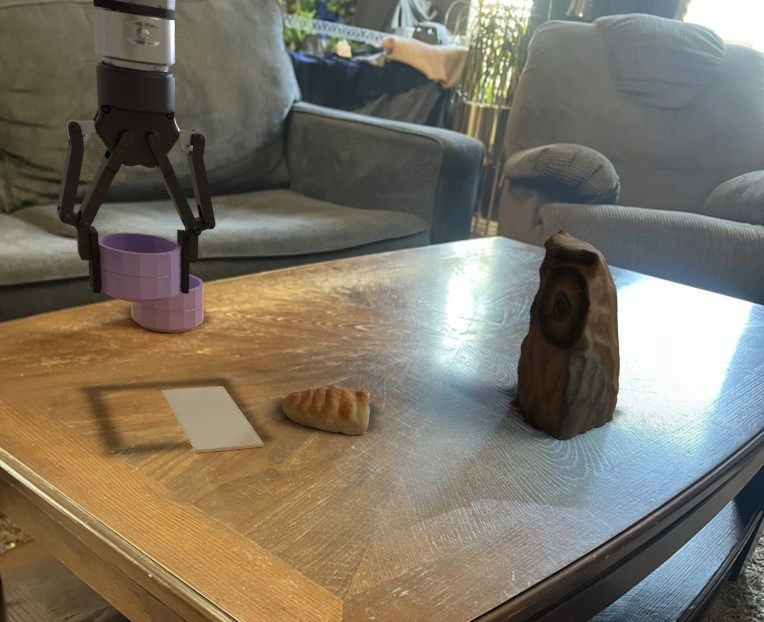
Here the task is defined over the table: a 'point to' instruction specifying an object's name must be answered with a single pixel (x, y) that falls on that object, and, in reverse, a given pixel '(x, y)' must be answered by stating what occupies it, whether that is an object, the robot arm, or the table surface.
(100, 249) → the near dish
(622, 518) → the table surface
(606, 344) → the owl
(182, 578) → the table surface
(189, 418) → the place mat
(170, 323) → the far dish
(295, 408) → the pastry
